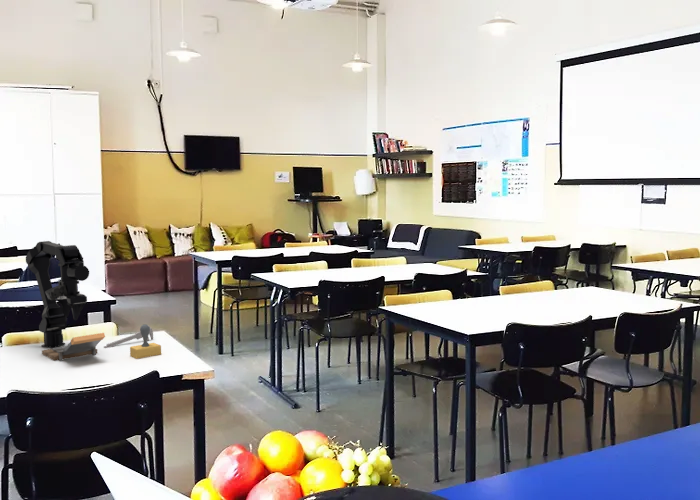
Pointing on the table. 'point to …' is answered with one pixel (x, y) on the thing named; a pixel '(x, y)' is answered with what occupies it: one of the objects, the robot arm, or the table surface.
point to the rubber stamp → (145, 346)
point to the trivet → (57, 355)
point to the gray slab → (83, 343)
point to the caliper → (130, 338)
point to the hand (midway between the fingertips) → (70, 318)
